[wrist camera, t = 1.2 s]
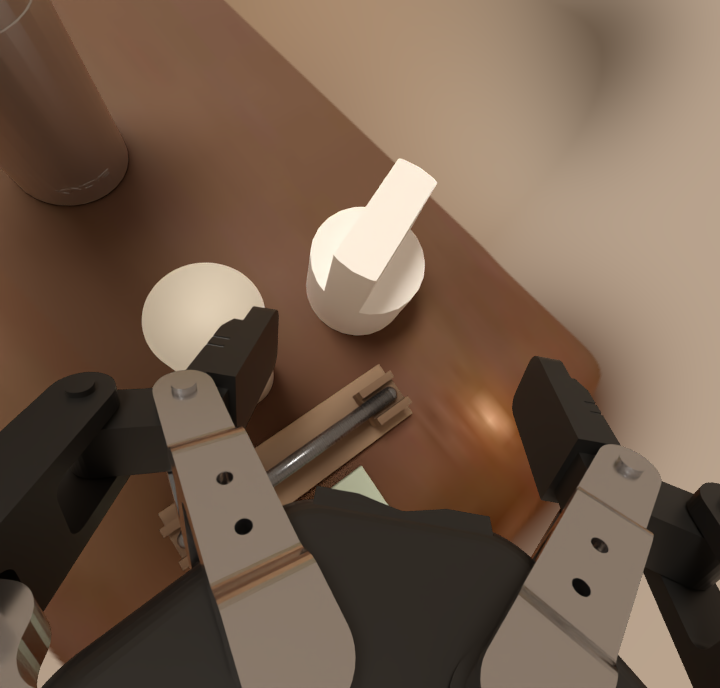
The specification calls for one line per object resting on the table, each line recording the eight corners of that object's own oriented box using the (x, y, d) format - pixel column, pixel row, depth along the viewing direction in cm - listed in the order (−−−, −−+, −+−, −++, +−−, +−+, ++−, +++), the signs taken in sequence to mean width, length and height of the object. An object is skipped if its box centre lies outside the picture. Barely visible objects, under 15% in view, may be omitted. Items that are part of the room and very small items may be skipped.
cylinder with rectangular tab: (374, 354, 36) (416, 311, 24) (286, 300, 36) (287, 231, 24) (419, 275, 38) (477, 203, 27) (338, 225, 38) (362, 131, 27)
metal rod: (175, 534, 27) (171, 538, 26) (389, 384, 32) (393, 382, 31) (185, 550, 27) (181, 554, 26) (397, 397, 32) (402, 395, 31)
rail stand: (161, 512, 30) (143, 521, 26) (376, 365, 36) (387, 356, 32) (197, 571, 29) (184, 589, 26) (409, 413, 35) (424, 409, 31)
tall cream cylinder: (195, 367, 33) (118, 298, 18) (252, 334, 34) (226, 243, 19) (230, 421, 32) (181, 398, 17) (286, 385, 34) (287, 334, 18)
